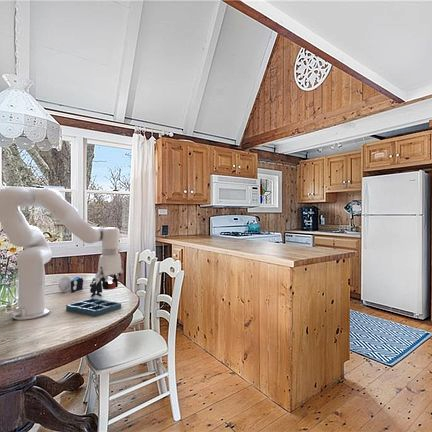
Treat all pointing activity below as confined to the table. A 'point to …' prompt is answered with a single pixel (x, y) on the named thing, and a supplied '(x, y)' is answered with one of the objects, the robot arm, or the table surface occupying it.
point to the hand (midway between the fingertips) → (110, 287)
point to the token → (111, 285)
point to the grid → (93, 307)
